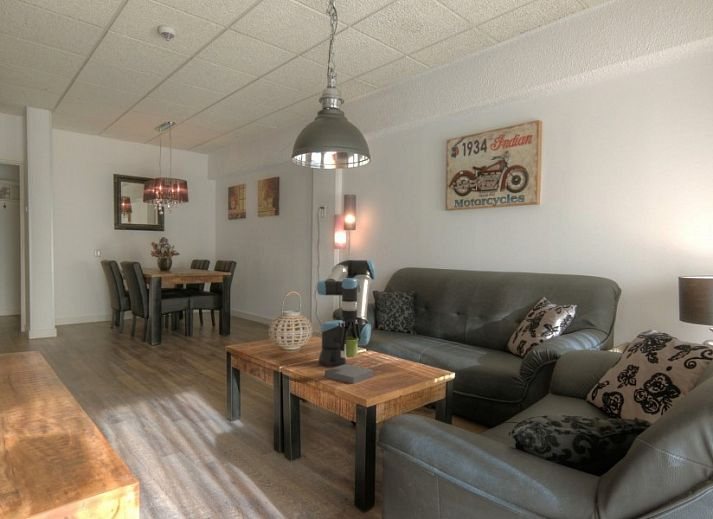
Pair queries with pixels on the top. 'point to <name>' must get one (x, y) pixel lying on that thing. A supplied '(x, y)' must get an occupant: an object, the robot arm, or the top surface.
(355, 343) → the plant pot
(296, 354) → the top surface
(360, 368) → the board
